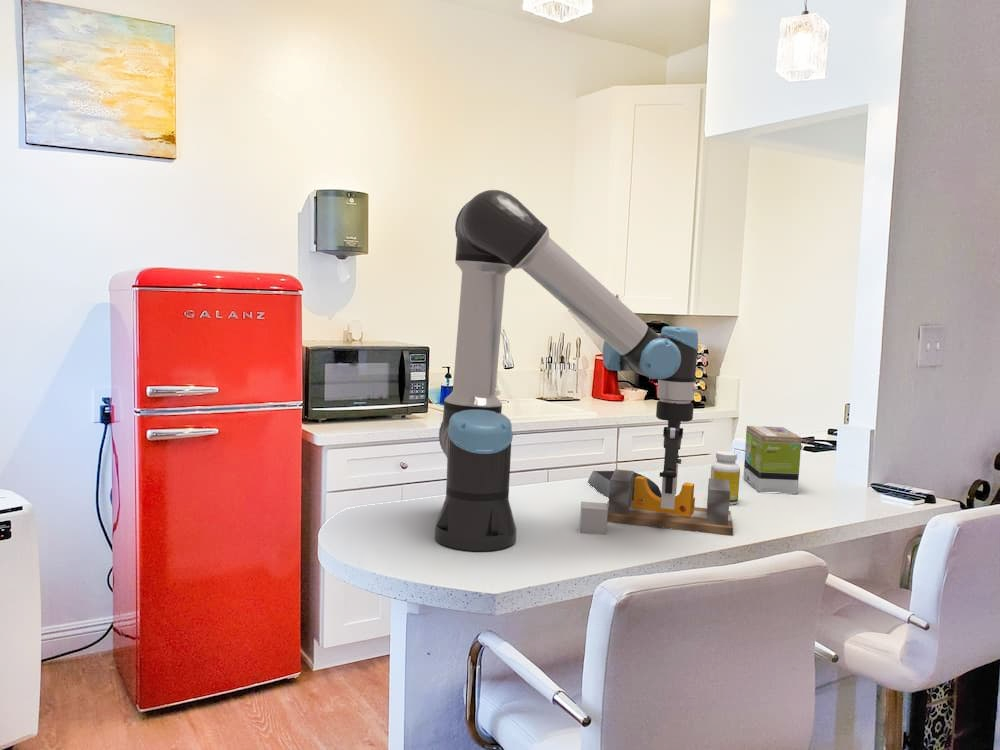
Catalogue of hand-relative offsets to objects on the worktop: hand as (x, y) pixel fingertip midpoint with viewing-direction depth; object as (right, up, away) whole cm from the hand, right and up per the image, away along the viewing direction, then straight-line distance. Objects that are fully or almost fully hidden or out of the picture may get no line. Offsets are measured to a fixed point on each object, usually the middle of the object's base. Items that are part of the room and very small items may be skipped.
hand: (668, 500), depth 167 cm
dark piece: (-6, -2, +23) cm, 24 cm away
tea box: (+33, -2, +36) cm, 49 cm away
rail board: (0, -4, 0) cm, 4 cm away
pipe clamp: (-1, -2, +1) cm, 3 cm away
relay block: (-17, -4, -10) cm, 20 cm away
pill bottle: (+17, -3, +18) cm, 25 cm away
